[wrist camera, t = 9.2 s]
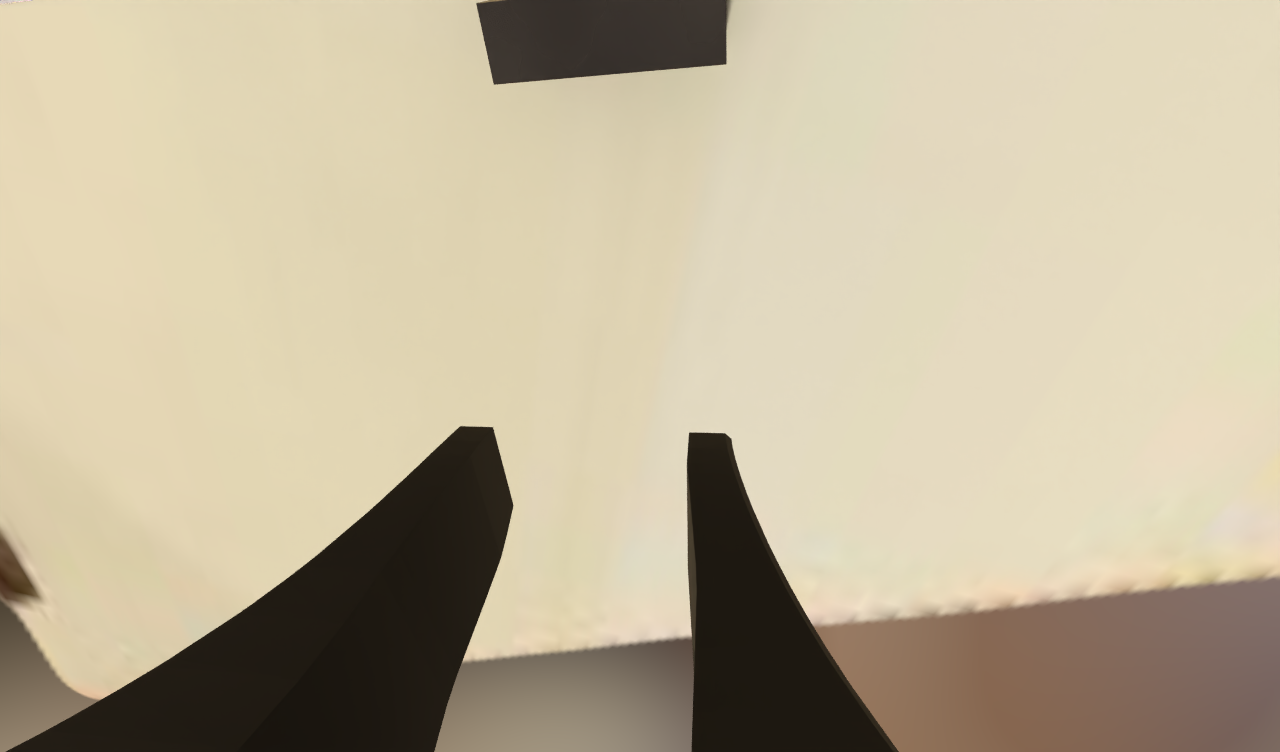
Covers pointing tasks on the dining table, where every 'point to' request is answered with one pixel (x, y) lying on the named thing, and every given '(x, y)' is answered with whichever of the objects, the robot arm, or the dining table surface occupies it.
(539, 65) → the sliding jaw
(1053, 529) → the dining table surface
